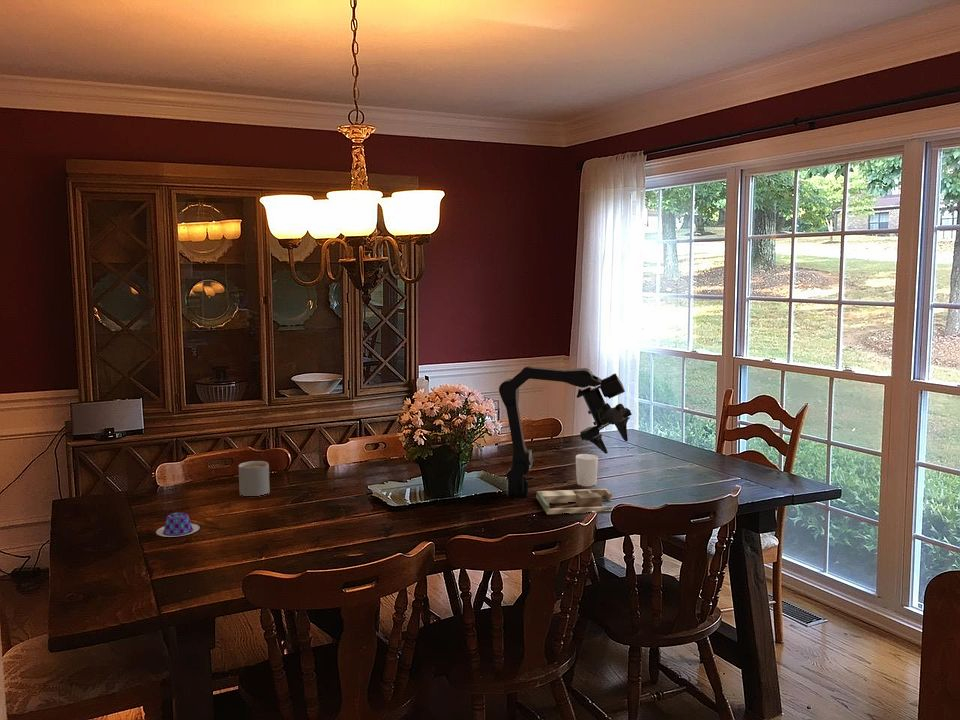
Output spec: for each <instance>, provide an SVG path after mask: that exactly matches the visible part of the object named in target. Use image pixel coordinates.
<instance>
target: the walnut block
mask: <svg viewBox="0 0 960 720" xmlns="http://www.w3.org/2000/svg"><path fill="white" fill-rule="evenodd" d="M576 505H577V506H576ZM575 506H576V507H577V508H578V507H602V506H603V501H602V496H600V495H599V494H598V493H581V494H576V503H575Z"/></svg>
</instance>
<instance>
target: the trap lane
mask: <svg viewBox="0 0 960 720" xmlns="http://www.w3.org/2000/svg"><path fill="white" fill-rule="evenodd" d="M581 493H598V494H599V495H600V496H602V502H608V501H607V500H613V498H612V497H613V495H612V494H613V493H611V491H610V490H609V489H608V488H593V489H592V488H590V489H588V488H587V489H567V490H566V489H564V490H563V489H562V490H560V489H559V490H537V491H536V500H537V502H538V503H539V505H540V506H541V507H542V509H543V511H544V512H545V513H546V515H561V514H562V513H563V514H564V513H569V514H585V513H586V512H587V513H586V514H589V513H588V512H591V511H597V512H596V513H599V512H598V511H605V510H611V509H612V508H613V507H614V506H615V505H610V506H608V505H607V506H606V505H605V506H603V505H602V507H578V506H577V507H559V508H558V507H557V508H550V503H551V504H569V503H568V502H576V494H581ZM563 514H562V515H563ZM564 515H565V514H564Z"/></svg>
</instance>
